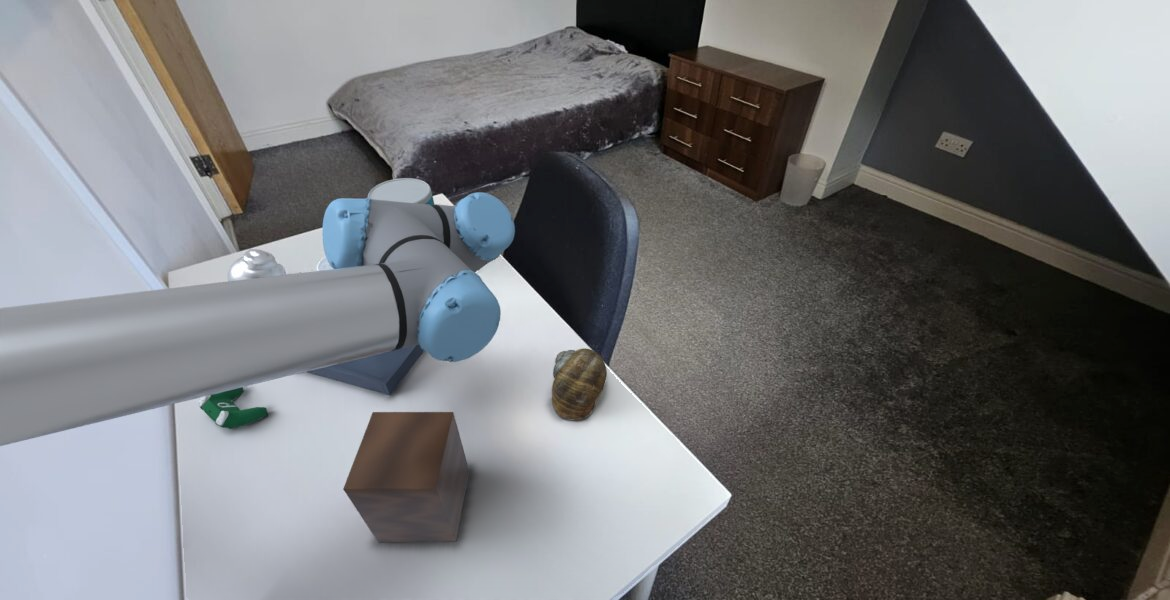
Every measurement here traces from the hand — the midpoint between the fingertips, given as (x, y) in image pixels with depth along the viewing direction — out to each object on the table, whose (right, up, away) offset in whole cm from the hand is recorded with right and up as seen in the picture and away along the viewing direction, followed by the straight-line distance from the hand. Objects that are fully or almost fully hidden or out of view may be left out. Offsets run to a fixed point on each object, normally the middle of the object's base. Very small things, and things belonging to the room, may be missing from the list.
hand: (378, 315), depth 78 cm
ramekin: (-17, +7, +22) cm, 28 cm away
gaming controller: (-21, -16, -4) cm, 26 cm away
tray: (-4, -6, +7) cm, 10 cm away
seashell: (+33, -13, 0) cm, 36 cm away
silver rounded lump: (-31, +4, +18) cm, 36 cm away
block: (+13, -25, -14) cm, 32 cm away
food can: (-2, +10, +26) cm, 28 cm away
